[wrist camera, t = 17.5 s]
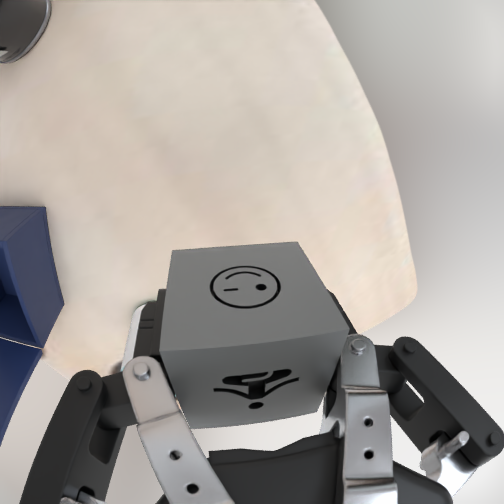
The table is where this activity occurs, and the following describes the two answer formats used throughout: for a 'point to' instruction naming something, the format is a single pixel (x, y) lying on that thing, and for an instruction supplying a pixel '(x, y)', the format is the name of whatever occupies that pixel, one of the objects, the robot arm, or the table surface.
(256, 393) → the dice cube
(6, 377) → the lid
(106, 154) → the table surface
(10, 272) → the chest
